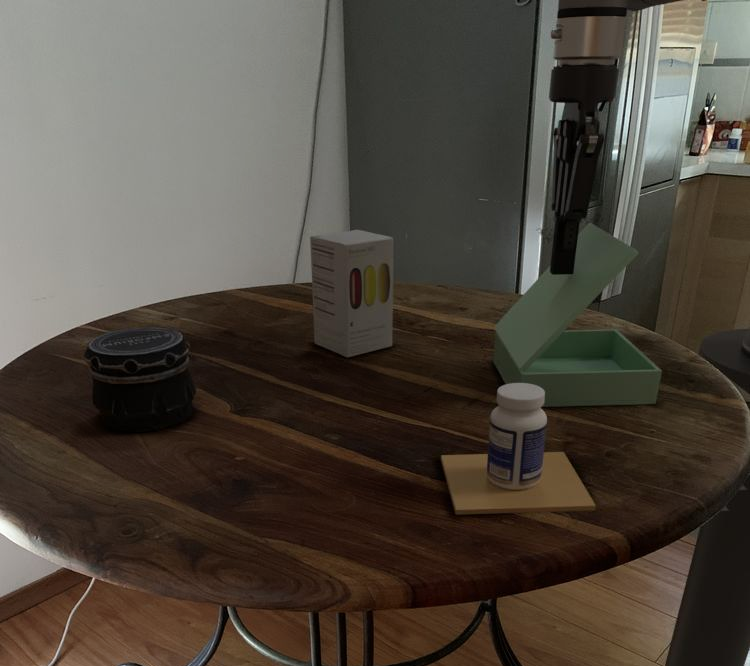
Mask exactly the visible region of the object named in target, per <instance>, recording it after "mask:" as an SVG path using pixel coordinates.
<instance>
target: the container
mask: <svg viewBox="0 0 750 666" xmlns="http://www.w3.org/2000/svg"><path fill="white" fill-rule="evenodd" d="M190 349H191V345H190V342H189V341H188V340H187V339H185V337H184V336H183V335H182V333H181V332H179V331H175V330H173V329H168V328H165V327H152V326H151V327H135V328H125V329H120V330H115V331H110V332H107V333H104V334H101V335H98V336H96V337H94V338H93V339H91V340H90V341H89V342H88V343H87V346H86V349H85V351H84V353H83V360H84V362H85V363H87V364H88V365H89V366H88V373H89V375H90V376H91V380H92V392H91V393H92V394H91V403H92V404H93V406H95V408H96V410H98V411H99V414H100V415H101V417H102V421H103V423H104V425H106V426H107V427H108V428H110V429H112V430H116V431H122V432H151V431H157V430H162V429H165V428H167V427H170V426H175V425H177V424H180V423H182V422H184V421H185V420H187V419H188V418H189V417H190V416H191V415H192V414H193V407H194V406H193V400H194V398H195V396H196V394H197V387H196V384H195V382H194V380H193V377H192V375H191V372H190V370H189V366H190V362H191V361H190V358H189V355H188V354H189V352H190Z"/></svg>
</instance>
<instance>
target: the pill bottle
mask: <svg viewBox="0 0 750 666" xmlns="http://www.w3.org/2000/svg"><path fill="white" fill-rule="evenodd" d="M544 400H545V391H544V390H543V389H542V388H541V387H539V386H536V385H533V384H528V383H511V384H503V385H501V386H499V387H498V388H497V391H496V403H497V405H498V406H496V407H495V408H494V409H492V411H491V413H490V415H489V416H490V417H489V430H488V446H487V454H488V459H487V477H488V479H489V480H490V481H491V482H492V483H493V484H494V485H496V486H498V487H501V488H505V489H511V490H522V489H528V488H531V487H533V486H535V485H536V484H537V483H538V482H539V481H540V479H541V474H542V464H543V455H544V452H545V446H546V445H545V444H546V435H547V428H548V427H547V426H548V417H547V414H546V412H545V411H544V410H543V409H542V408H543V407H542V406H543V405H544Z"/></svg>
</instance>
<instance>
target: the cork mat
mask: <svg viewBox="0 0 750 666" xmlns="http://www.w3.org/2000/svg"><path fill="white" fill-rule="evenodd" d="M487 459H488V453H475V454H473V453H472V454H471V453H470V454H441V455H440V463H441V466H442V470H443V473H444V477H445V482H446V485H447V489H448V492H449V495H450V500H451V503H452V507H453V510H454V514H455V515H456V516H461V515H464V516H465V515H494V514H496V515H497V514H523V513H524V514H525V513H527V514H529V513H556V512H557V513H559V512H585V511H586V512H589V511H590V512H591V511H593V512H594V511H596V506H597V505H596V503H595V502H594V500H593V498H592V497H591V494H590V493H589V491H588V489H587V488H586V487H585V485H584V483H583V482H582V480H581V478H580V477H579V474H578V473H577V472H576V470H575V468H574V467H573V465H572V464H571V462H570V460H569V458H568V457H567V455H566V453H565V451H544V455H543V464H542V474H541V479H540V481H539V482H538V483H537V484H536V485H535V486H533V487H531V488H528V489H522V490H511V489H505V488H501V487H498V486H496V485H494V484H493V483H492V482H491V481H490V480H489V479H488V477H487Z"/></svg>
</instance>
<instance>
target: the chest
mask: <svg viewBox="0 0 750 666" xmlns="http://www.w3.org/2000/svg"><path fill="white" fill-rule="evenodd" d="M492 359H493V360H492V362H493V364H494V366H495V367H496V369H497V372H498V373H499V375H500V376H501V378H502V381H503V382H504V385H506V384H511V383H528V384H533V385H536V386H539V387H541V388H542V389H543V390H544V391H545V400H544V405H543V406H542V407H541V408H549V407H550V408H551V407H557V408H558V407H589V406H590V407H594V406H595V407H596V406H630V405H631V406H632V405H656V403H657V399H658V393H659V388H660V383H661V378H662V373H663V370H662V369H661V368H660V367H659V366H657V365H656V363H654V362H653V361H652V360H651V359H650V358H649V357H648V356H647V355H645V354H644V353H643V352H642V351H641V350H640V349H639V348H638V347H637V346H636V345H634V344H633V342H631V341H630V340H629V339H628V338H627V337H626V336H625V335H624V334H623V333H621V332H620V331H619V330H618V329H617V328H613V329H612V328H611V329H610V328H607V329H567V330H566V329H565V330H564V331H563V332H562V333H561V334H560V336H559V337H558V338H557V339H556V340H555V341H554V342H553V343H552V344H551V345H550V346H549V347H548V348H547V349H546V350H545V351H544V352H543V353H542V354H541V355H540V356H539V357H538V358H537V359H536V360H535V361H534V363H533V364H532V365H531V366H530V367H529V368H528V369H527V370H526V371H525V372H523V371H521V370H520V369H519V367H518V366H517V364H516V362H515V361H514V359H513V357H512V356H511V354H510V353H509V351H508V349H507V348H506V346H505V345H504V343H503V341H502V340H501V338H500V336H499V335H498V333H497V332H496V331H495V332H494V345H493V357H492Z"/></svg>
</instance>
